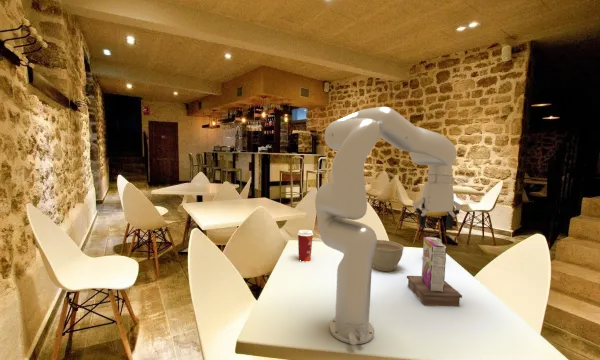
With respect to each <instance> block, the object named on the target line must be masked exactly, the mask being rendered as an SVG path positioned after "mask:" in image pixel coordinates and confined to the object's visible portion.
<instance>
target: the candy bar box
mask: <svg viewBox="0 0 600 360" xmlns="http://www.w3.org/2000/svg"><path fill="white" fill-rule="evenodd" d="M428 237H429V236H426V237H425V236H424V237H423V245H422V246H423V247H422V265H421V266H422V267H421V276H422V279H423V281H424V282H425V284H426V285H427V287H428V288H429V290H430V291H436V292H444V281H445V278H446V260H447V245H445V243H442V241H441V242H440V241H439V240H438V239H439V238H438V237H434V238H428ZM437 238H438V239H437Z"/></svg>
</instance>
